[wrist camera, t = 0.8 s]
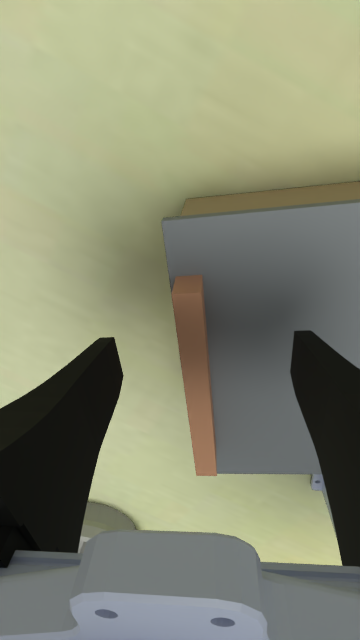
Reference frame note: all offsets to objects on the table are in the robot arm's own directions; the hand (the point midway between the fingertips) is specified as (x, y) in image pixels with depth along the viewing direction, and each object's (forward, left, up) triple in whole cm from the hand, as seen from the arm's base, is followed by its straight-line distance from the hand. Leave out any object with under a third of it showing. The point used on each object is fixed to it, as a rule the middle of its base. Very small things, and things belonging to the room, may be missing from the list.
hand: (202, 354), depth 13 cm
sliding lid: (-4, -6, -4) cm, 8 cm away
